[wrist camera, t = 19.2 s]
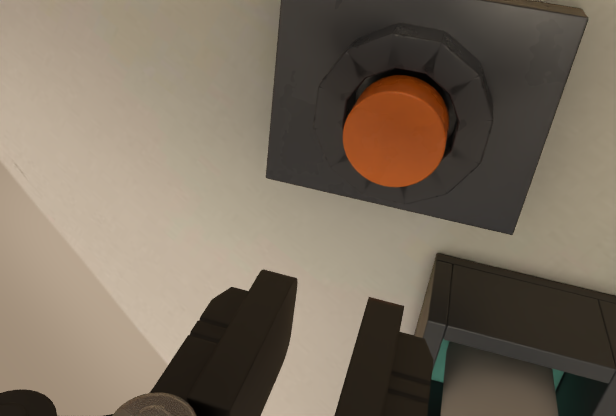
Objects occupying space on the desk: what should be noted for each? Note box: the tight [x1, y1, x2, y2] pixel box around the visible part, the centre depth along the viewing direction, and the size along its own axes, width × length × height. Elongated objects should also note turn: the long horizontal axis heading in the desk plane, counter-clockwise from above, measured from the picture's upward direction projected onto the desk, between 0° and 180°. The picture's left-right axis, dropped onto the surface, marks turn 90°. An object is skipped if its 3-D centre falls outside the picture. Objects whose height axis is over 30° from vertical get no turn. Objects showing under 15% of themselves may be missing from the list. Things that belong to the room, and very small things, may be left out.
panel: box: [266, 0, 588, 235], centre depth 23 cm, size 11×9×4 cm
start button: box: [343, 75, 449, 187], centre depth 21 cm, size 4×4×2 cm
